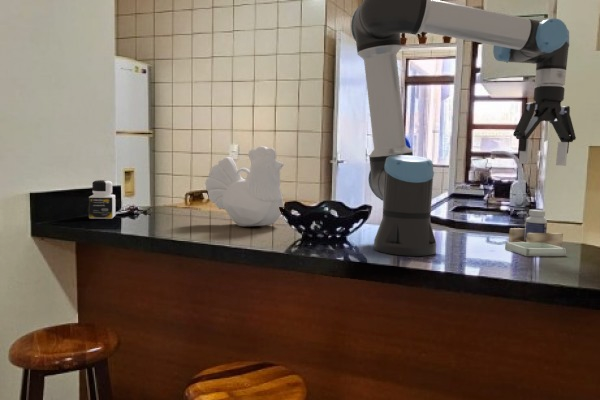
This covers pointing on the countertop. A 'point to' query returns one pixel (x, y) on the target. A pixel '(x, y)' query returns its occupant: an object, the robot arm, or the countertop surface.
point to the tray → (535, 249)
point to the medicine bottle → (102, 200)
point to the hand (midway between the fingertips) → (542, 164)
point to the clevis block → (535, 237)
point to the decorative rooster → (248, 188)
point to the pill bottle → (535, 223)
